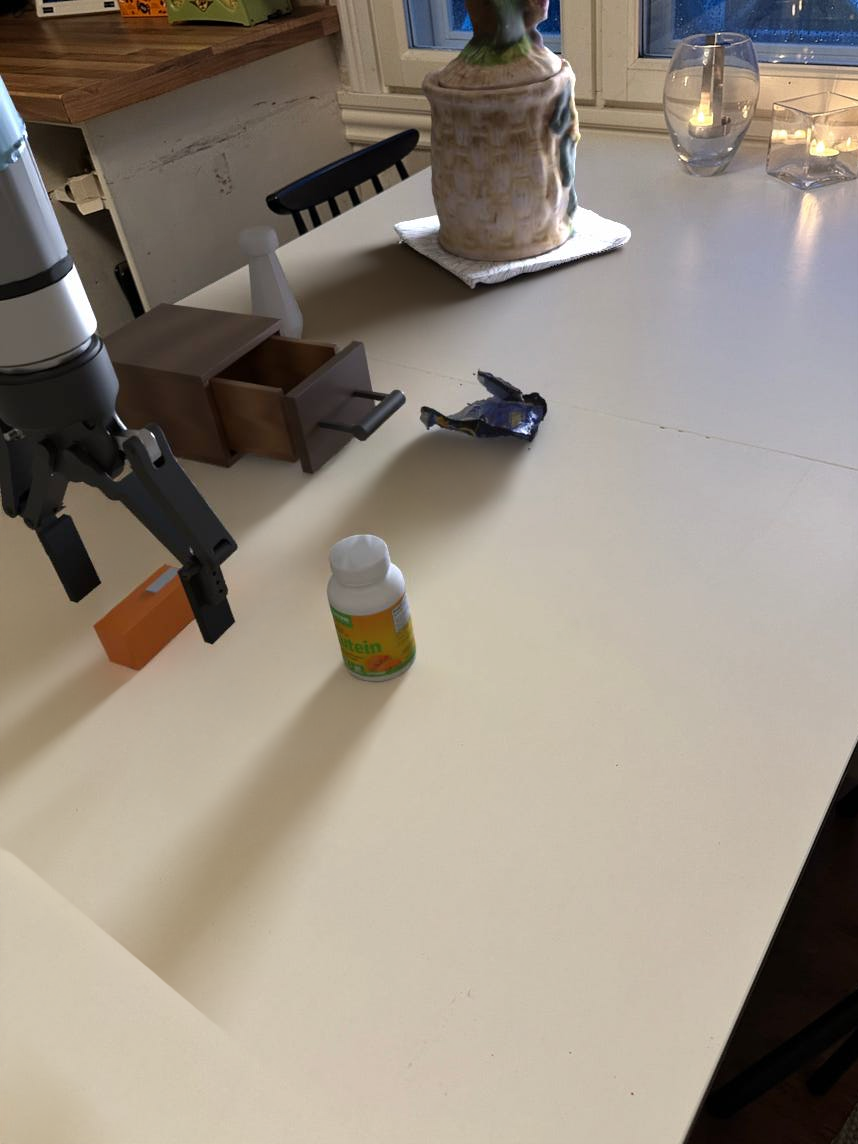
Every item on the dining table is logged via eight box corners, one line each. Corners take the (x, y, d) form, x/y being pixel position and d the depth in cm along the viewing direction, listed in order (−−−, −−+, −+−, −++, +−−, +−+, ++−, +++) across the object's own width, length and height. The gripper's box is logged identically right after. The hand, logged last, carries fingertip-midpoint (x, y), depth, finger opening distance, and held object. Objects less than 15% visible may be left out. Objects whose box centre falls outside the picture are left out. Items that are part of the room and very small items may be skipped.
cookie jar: (474, 295, 118) (443, -15, 97) (389, 242, 135) (347, -33, 113) (637, 243, 126) (642, -55, 104) (538, 199, 142) (525, -66, 121)
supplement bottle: (332, 675, 69) (302, 569, 63) (364, 628, 73) (340, 523, 66) (399, 690, 67) (376, 582, 61) (429, 640, 71) (410, 533, 65)
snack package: (475, 391, 100) (401, 440, 93) (478, 335, 95) (401, 381, 88) (570, 436, 95) (500, 491, 88) (579, 379, 90) (506, 432, 84)
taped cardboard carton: (109, 661, 73) (91, 624, 70) (178, 598, 78) (163, 561, 75) (139, 671, 72) (122, 634, 69) (206, 606, 77) (193, 569, 74)
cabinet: (303, 407, 100) (281, 318, 94) (228, 468, 92) (200, 376, 86) (188, 386, 107) (161, 302, 100) (110, 442, 99) (75, 355, 92)
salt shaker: (267, 331, 116) (239, 220, 107) (312, 330, 115) (287, 218, 106) (252, 353, 112) (221, 240, 103) (299, 352, 111) (272, 237, 102)
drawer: (423, 423, 94) (412, 348, 88) (361, 485, 86) (345, 407, 81) (261, 395, 101) (242, 324, 96) (192, 449, 94) (167, 376, 89)
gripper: (-142, 351, 62) (0, 604, 76) (149, 404, 52) (250, 685, 66) (-48, 304, 66) (69, 551, 80) (234, 344, 56) (312, 618, 70)
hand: (150, 611), depth 73 cm, fingers open, 13 cm apart
